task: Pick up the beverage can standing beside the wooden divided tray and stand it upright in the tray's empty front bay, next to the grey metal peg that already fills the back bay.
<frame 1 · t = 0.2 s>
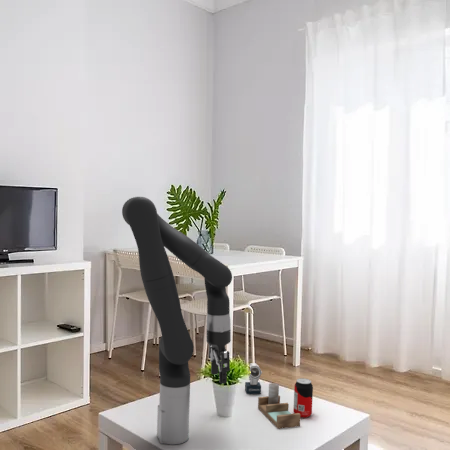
hand: (218, 378, 161), 17 cm above the table, tool pointing down, fingers open, 8 cm apart
beverage can: (302, 415, 178), on the table
wooden divided tray: (278, 416, 175), on the table
watch: (252, 392, 198), on the table
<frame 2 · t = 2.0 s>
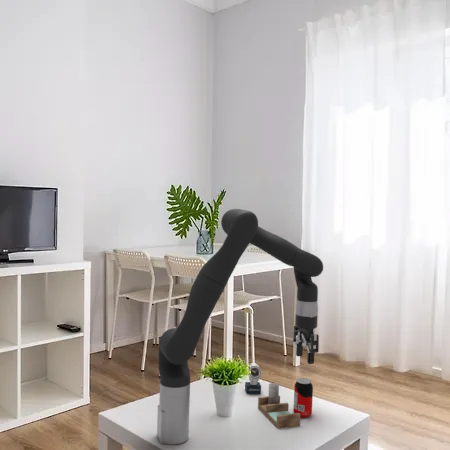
hand: (304, 359, 177), 19 cm above the table, tool pointing down, fingers open, 8 cm apart
nothing on the table moved.
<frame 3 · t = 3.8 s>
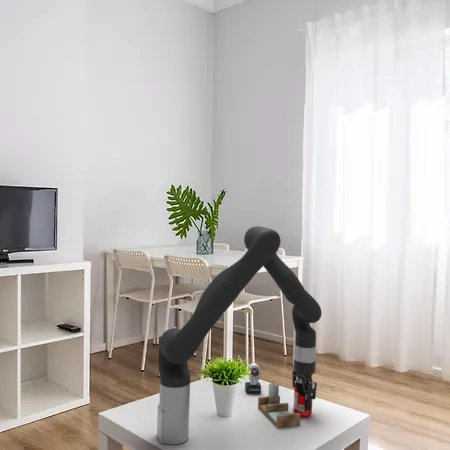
hand: (303, 405, 177), 3 cm above the table, tool pointing down, fingers closed on beverage can, 6 cm apart
beverage can: (302, 415, 178), on the table, touching gripper
everything else where it was.
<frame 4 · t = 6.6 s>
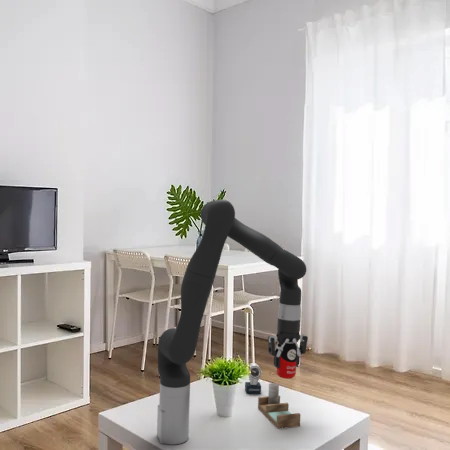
hand: (286, 366, 170), 19 cm above the table, tool pointing down, fingers closed on beverage can, 6 cm apart
beverage can: (285, 377, 171), point 15 cm above the table, touching gripper
everything else where it was.
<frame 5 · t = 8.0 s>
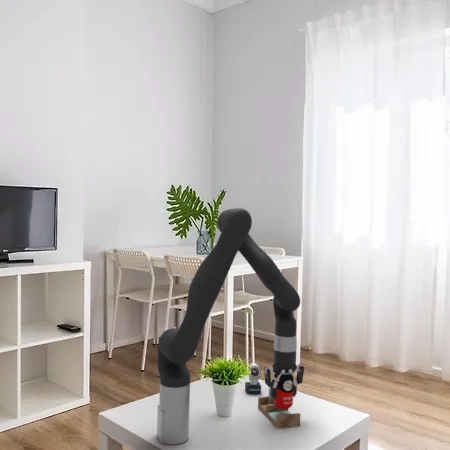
hand: (283, 396, 172), 8 cm above the table, tool pointing down, fingers closed on beverage can, 6 cm apart
beverage can: (283, 406, 172), point 5 cm above the table, touching gripper
everything else where it was.
when the fingers open (7 cm above the table, at t = 9.2 s): beverage can drops 2 cm, resting on wooden divided tray.
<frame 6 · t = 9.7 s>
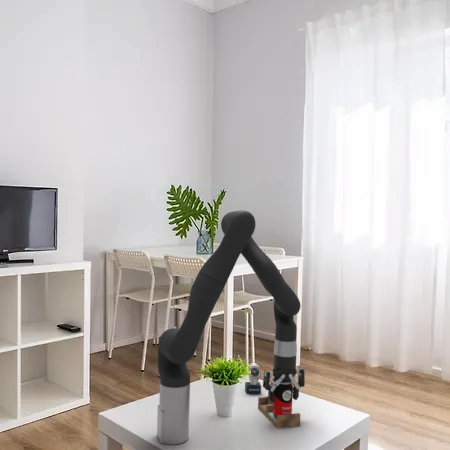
hand: (283, 400, 172), 7 cm above the table, tool pointing down, fingers open, 8 cm apart
beverage can: (282, 416, 172), point 2 cm above the table, touching wooden divided tray
everything else where it was.
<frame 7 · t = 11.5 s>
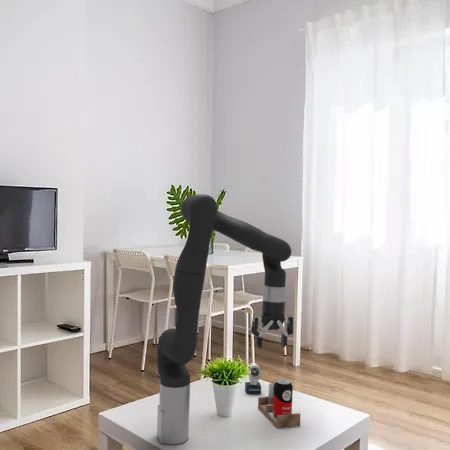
hand: (271, 347, 172), 25 cm above the table, tool pointing down, fingers open, 8 cm apart
nothing on the table moved.
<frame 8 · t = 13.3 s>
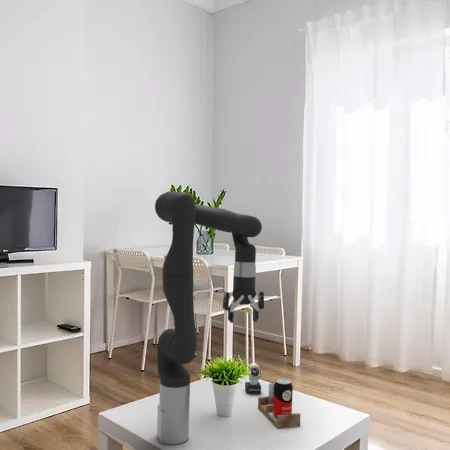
hand: (243, 321, 175), 32 cm above the table, tool pointing down, fingers open, 8 cm apart
nothing on the table moved.
at the end: beverage can 0.2 cm from the target spot on the wooden divided tray, point 1.5 cm above the wooden divided tray's base; beverage can tilted 0°; the gripper is holding nothing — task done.
